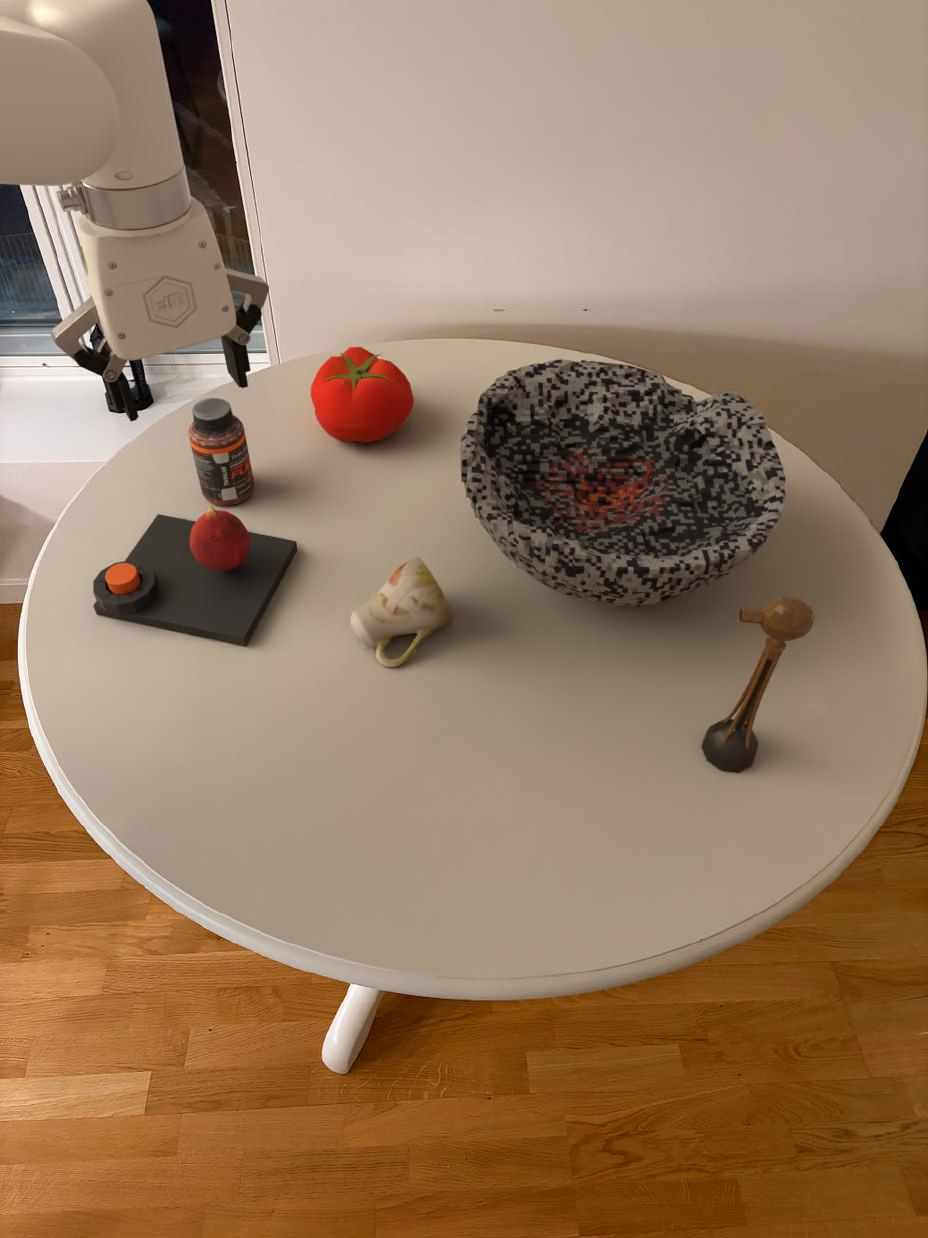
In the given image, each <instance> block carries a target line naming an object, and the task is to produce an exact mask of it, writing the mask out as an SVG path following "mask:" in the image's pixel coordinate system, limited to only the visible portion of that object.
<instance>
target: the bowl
mask: <svg viewBox="0 0 928 1238" xmlns="http://www.w3.org/2000/svg"><path fill="white" fill-rule="evenodd" d="M477 402H478V403H477V408H476V411H475V412H473V413H472V414H471V415H470V417H469V419H468V421H467V423H466V428H465V433H461V434H460V480H461V481H460V482H461V483H464V490H465V492H464V493H465V498H469V500H470V507H471V508H472V509H473V513H474V517H475V518H476V519H478V520H479V524H480V525H481V526H482V527H483V528H484V529H485V531H486V533H487V534H488V536H489V537H490V538H491V540H492V542H494V543H495V544H496V545H497V546H498V548H499V550H500V551H501V553H502V554H503V555H504V556H505V557H507V559H509V560H510V561H511V562H512V563H513V564H514V565H515V566H516V567H517V568H518V569H521V570H523V571H525V572H526V573H527V574H528V575H529V576H531V578H533V579H535V580H536V581H538V582H540V583H541V584H542V585H544V586H547V587H549V588H550V589H552V590H554V592H558V593H561V595H565V596H570V597H571V596H572V597H576V598H580V599H584V600H588V601H594V602H598V603H602V604H603V603H604V604H609V605H610V607H615V606H616V607H617V606H629V607H641V605H657V603H659V602H666V601H668V600H671V599H676V598H678V597H681V596H682V595H686V594H691V593H696V592H697V591H698V590H702V589H704V588H705V587H709V586H710V585H711V584H712V583H714V582H717V581H718V580H720V579H722V578H723V577H725V576H728V575H729V574H730V573H731V572H733V571H735V570H737V569H739V567H740V566H741V565H743V563H744V562H745V561H746V560H747V559H748V558H749V557H751V556H752V555H753V554H755V553H756V552H757V551H759V549H760V548H761V547H762V546H763V545H764V544H765V543H766V542H767V539H768V538H769V535H770V534H771V532H772V530H773V528H774V526H775V524H776V523H778V522H779V521H780V520H781V518H782V517H781V516H782V512H783V509H784V507H785V505H784V499H786V498H787V496H786V488H785V485H786V478H787V477H786V476H787V475H786V474H785V470H784V466H783V464H782V461H781V458H780V456H779V453H778V449H777V446H776V445H775V443H774V442H773V438H772V434H771V431H770V430H769V429H768V427H767V426H766V420H765V418H764V416H763V414H762V412H761V410H760V409H758V408H757V407H755V406H753V404H752V403H751V402H749V400H747V399H745V398H743V397H741V396H740V394H739V393H738V392H737V391H733V390H732V391H726V392H723V393H714V392H712V395H711V396H709V397H706V398H704V399H702V400H696V399H695V398H694V397H693V395H689V394H685V393H683V391H682V389H681V388H677V387H674V386H673V385H672V384H670V383H669V382H667V381H666V379H665V377H664V375H663V374H662V373H660V372H655V371H652V370H648V369H644V368H640V367H636V366H633V365H629V364H622V363H613V362H605V361H596V360H595V361H594V360H585V359H581V360H580V361H575V360H569V359H563V358H562V359H561V358H560V359H554V360H549V361H545V362H543V363H532V364H529V365H524V366H519V368H517V369H511V370H508V371H506V373H504V374H503V375H502V376H499V377H497V378H496V379H495V380H494V382H493V383H492V384H490V386H489V387H487V389H486V390H485V391H483V392H482V393H481V394H480V396H479V399H478V401H477Z"/></svg>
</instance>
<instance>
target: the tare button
mask: <svg viewBox="0 0 928 1238" xmlns="http://www.w3.org/2000/svg"><path fill="white" fill-rule="evenodd" d="M105 578H106V581H107V584H108V586H109V589H110V590H111V592H113V593H114V594H117V595H125V594H130V593H132V592H133V591H135V590H136V589H137V588H138V587H139V585H140V578H139V575H138V572H137V569H136V568H135V566H133V565H132V564H129V563H120V564H116V565H114V566H112V567H111V568H109V569H108V571H107V572H106V575H105Z"/></svg>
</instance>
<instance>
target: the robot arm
mask: <svg viewBox="0 0 928 1238" xmlns="http://www.w3.org/2000/svg"><path fill="white" fill-rule="evenodd" d="M175 117H176V116H175V112H174V108H173V102H172V97H171V92H170V88H169V82H168V77H167V72H166V67H165V62H164V57H163V51H162V46H161V42H160V36H159V32H158V27H157V23H156V19H155V15H154V12H153V10H152V8H151V5H150V4H149V2H148V0H0V185H16V186H35V187H36V186H37V187H38V186H43V187H58V186H66V185H70V186H66V189H63V190H58V191H57V190H56V197H57V200H58V203H59V205H60V208H61V210H62V211H63V213H66V212H71V211H74V213H75V212H76V213H77V212H80V215H79V216H78V219H77V225H78V226H77V227H78V239H79V248H80V254H81V261H82V266H83V270H84V271H83V272H84V275H85V281H86V285H87V289H88V294H89V298H88V299H86V300H85V301H84V302H83V303H81V304H80V305H79V306H78V307H77V308H76V309H75V310H73V311H72V312H71V313H70V314H69V315H68V316H66V317H65V318H64V319H63V320H62V321H61V322H59V323H58V324H57V325H56V326H55V327H53V329H51V330H50V336H51V338H52V340H53V342H54V343H55V345H56V346H57V347H58V348H59V349H60V350H61V351H62V352H64V353H65V354H66V355H67V356H68V357H69V358H70V359H72V360H73V361H74V362H76V365H78V366H79V367H80V368H82V369H84V370H87V371H89V372H91V373H94V374H96V375H98V376H100V377H102V378H103V379H104V381H105V384H106V388H107V390H108V394H109V397H110V400H111V402H112V405H113V407H114V408H115V410H116V411H119V410H122V409H123V411H124V412H125V414H126V416H127V418H128V419H129V421H130V422H135V421H138V419H139V413H138V410H137V405H136V403H135V400H134V399H135V398H134V397H133V394H132V393H133V392H132V390H131V386H130V383H129V380H128V378H127V376H126V375H125V373H124V371H123V370H124V368H125V366H126V364H127V362H128V361H137V360H143V359H148V358H151V357H155V356H159V355H162V354H167V353H170V352H173V351H177V350H182V349H185V348H188V347H192V346H196V345H199V344H203V343H207V342H209V341H213V340H216V339H219V338H220V340H221V345H222V351H223V355H224V356H223V357H224V360H225V365H226V370H227V373H228V374H229V376H230V377H231V378H232V380H233V381H234V383H235V384H236V385H237V386H238V388H241V389H246V388H248V387H249V382H248V377H247V373H248V372H251V364H250V363H251V362H250V358H249V352H248V347H247V345H248V344H249V343H250V341H251V333H252V332H253V330H254V329H255V327H256V325H258V323H259V322H260V320H261V319H262V316H263V312H262V310H263V307H264V306H265V303H266V300H267V296H268V294H269V290H270V286H269V285H268V283H267V282H266V280H264V279H263V277H261V276H258V275H254V274H251V273H246V272H242V271H238V270H234V269H230V268H226V267H225V264H224V261H223V257H222V253H221V250H220V247H219V243H218V240H217V237H216V233H215V231H214V228H213V225H212V223H211V220H210V218H209V215H208V212H207V209H206V208H205V206H204V204H203V203H202V202H201V201H199V200H198V199H197V198H195V197H194V196H192V195H191V191H190V185H189V182H188V176H187V172H186V167H185V162H184V156H183V153H182V148H181V142H180V138H179V132H178V127H177V121H176V118H175ZM232 291H234V292H238V293H243V294H245V296H244V298H245V299H244V300H243V301H242V302H241V303H240V305H239V306H238V308H237V310H236V308H235V302H234V297H233V293H232ZM96 325H97V326H98V328H99V330H100V332H101V333H102V335H104V336H103V338H102V340H101V342H100V344H99V345H98V347H97V349H96V350H95V349H94V348H91V347H89V346H87V345H85V344H83V343H82V342H80V339H81V338H82V337H83V336H84V335H85V334H86V333H87V332H89V331H90V330H91V329H92V328H93V327H94V326H96Z"/></svg>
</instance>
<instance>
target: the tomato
mask: <svg viewBox="0 0 928 1238" xmlns="http://www.w3.org/2000/svg"><path fill="white" fill-rule="evenodd" d="M381 355H382V353H379V354H375V353H374V352H371V351H369V350H367V349H366V348H364V347H362V346H349V347H348V348H347V349H346V350H345V351H343V352H340V355H339V356H337V355H335V356H334V355H333V356H332V355H331V356H330V357H329V358H328V359H327V360H326V361H325V362H323V364H322V365H321V366H320V367H319V368H318V370H317V372H316V374H315V377H314V379H313V381H312V383H311V386H310V398H311V401H312V405H313V408H314V414H315V417H316V422H318V424H319V425H320V427H321V429H323V430H324V431H325V433H326V434H328V435H329V436H330V437H332V438H334V439H336V440H337V441H340V442H342V443H347V442H352V441H357V442H360V443H361V442H362V443H372V442H375V441H380V440H383V438H385V437H388V435H391V434H392V433H394V432H396V431H397V430H398V429H399V428H400V427H401V426H402V425H404V423H406V421H407V419H408V418H409V416H410V415H411V413H412V411H413V407H414V401H415V400H414V399H415V398H414V395H413V390H412V387H411V382H410V381H409V379H408V378H407V377H406V374H405V373H403V372H402V370H401V369H400V368H399V367H398V366H397V365H396V364H395V363H393V362H392V361H391V360H387V359H383V358H378V357H379V356H381Z"/></svg>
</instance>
